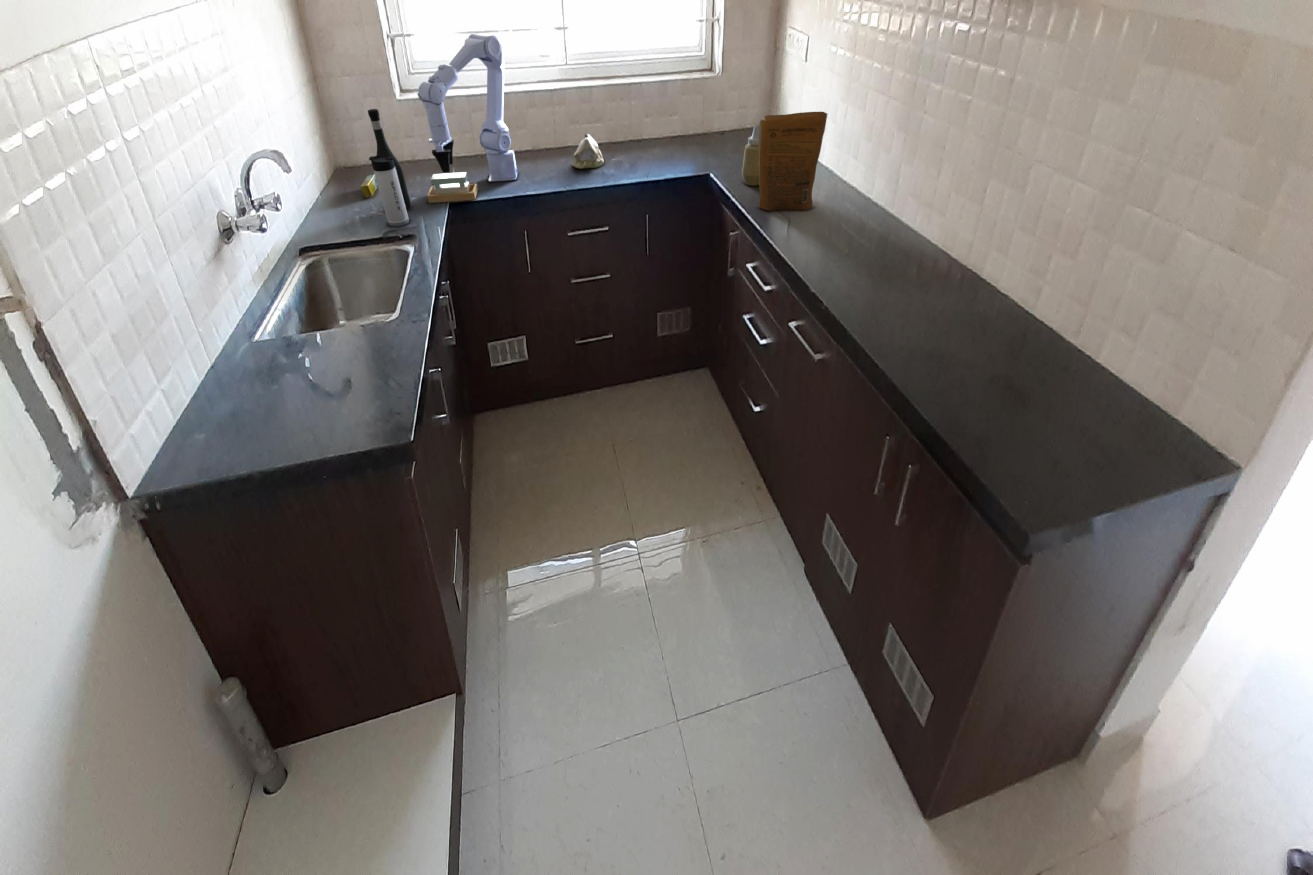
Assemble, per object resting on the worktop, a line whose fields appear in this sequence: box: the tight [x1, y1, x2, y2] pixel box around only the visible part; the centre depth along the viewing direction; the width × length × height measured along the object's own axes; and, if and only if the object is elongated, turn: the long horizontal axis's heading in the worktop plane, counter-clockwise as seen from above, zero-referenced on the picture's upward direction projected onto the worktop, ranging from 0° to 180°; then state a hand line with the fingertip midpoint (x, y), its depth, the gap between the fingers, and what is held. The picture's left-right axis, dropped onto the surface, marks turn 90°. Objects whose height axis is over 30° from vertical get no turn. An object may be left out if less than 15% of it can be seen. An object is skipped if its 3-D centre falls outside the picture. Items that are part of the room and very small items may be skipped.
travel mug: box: [368, 155, 410, 228], centre depth 214 cm, size 6×7×20 cm
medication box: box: [360, 173, 378, 199], centre depth 242 cm, size 12×3×4 cm, turn 7°
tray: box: [426, 183, 479, 204], centre depth 236 cm, size 15×9×2 cm, turn 95°
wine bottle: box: [367, 108, 412, 211], centre depth 220 cm, size 8×8×30 cm
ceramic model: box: [572, 133, 605, 169], centre depth 256 cm, size 14×11×10 cm
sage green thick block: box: [430, 171, 469, 189], centre depth 234 cm, size 11×5×3 cm, turn 95°
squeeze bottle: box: [741, 125, 759, 187], centre depth 231 cm, size 8×8×18 cm
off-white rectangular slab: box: [433, 181, 470, 195], centre depth 236 cm, size 11×5×3 cm, turn 95°
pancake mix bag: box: [758, 111, 828, 212], centre depth 209 cm, size 7×19×28 cm, turn 86°
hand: (447, 168), depth 232 cm, fingers open, 7 cm apart
